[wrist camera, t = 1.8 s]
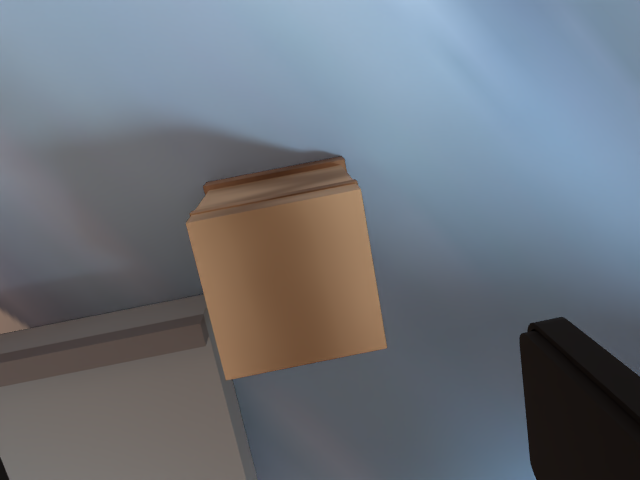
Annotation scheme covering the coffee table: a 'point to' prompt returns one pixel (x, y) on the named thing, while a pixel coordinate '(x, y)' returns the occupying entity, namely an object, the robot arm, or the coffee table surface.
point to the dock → (121, 399)
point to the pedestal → (286, 268)
